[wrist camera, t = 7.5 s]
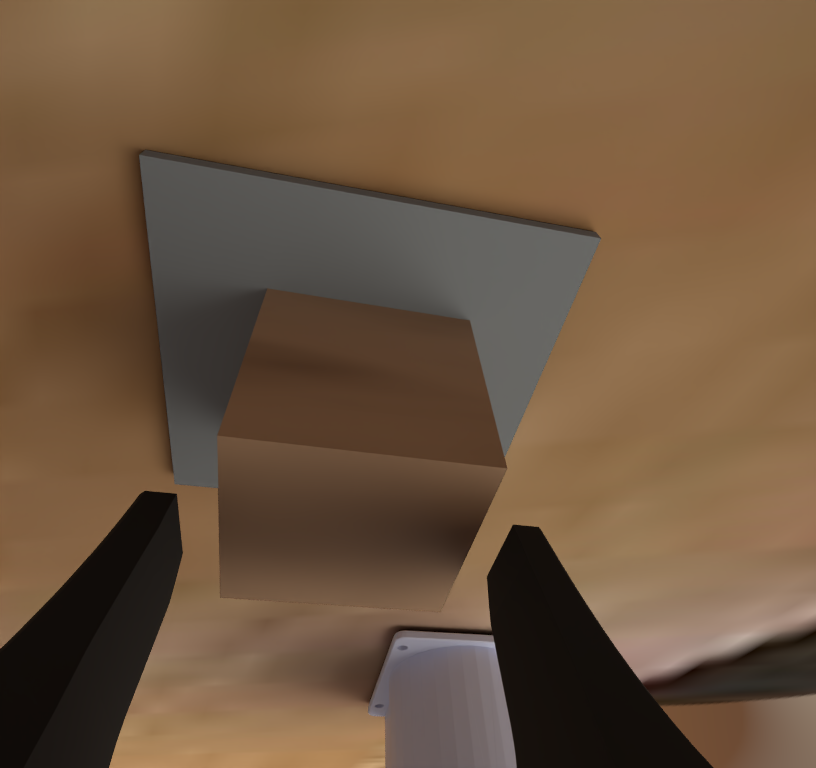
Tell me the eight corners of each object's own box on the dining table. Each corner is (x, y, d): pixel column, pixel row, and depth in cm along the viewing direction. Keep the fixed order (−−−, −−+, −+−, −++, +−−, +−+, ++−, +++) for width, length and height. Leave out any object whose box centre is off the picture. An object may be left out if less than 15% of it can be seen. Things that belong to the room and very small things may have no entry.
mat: (478, 503, 20) (480, 512, 20) (178, 475, 19) (174, 483, 18) (595, 232, 14) (600, 238, 13) (145, 149, 12) (138, 154, 12)
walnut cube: (425, 457, 18) (440, 612, 14) (260, 438, 17) (220, 597, 13) (469, 320, 15) (506, 468, 10) (267, 288, 14) (217, 435, 10)
